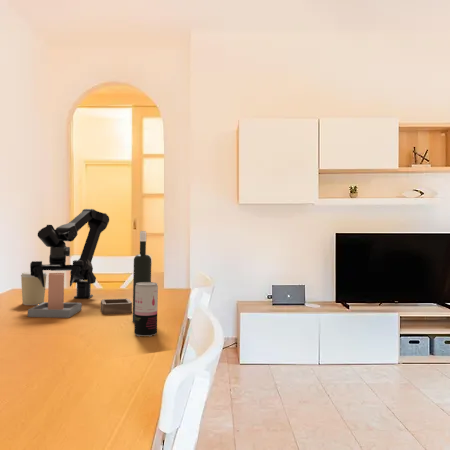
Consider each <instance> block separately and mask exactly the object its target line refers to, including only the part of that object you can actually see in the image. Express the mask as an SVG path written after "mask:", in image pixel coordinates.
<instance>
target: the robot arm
mask: <svg viewBox="0 0 450 450" xmlns="http://www.w3.org/2000/svg"><path fill="white" fill-rule="evenodd" d="M109 222H110V216H109V215H108V214H107V213H106V212H100V211H98V210H96V209H94V208H84V209H82V211H81V212H80V213H79V214H78V215H76V216H75V217H74V218H73V219H71V220H70V221H69V222H68V223H65V224H61V225H60V226H57V227H56V228H55V227H54V226H53V225H52V224H46V226H45V227H42V228H41V229H40V230H38V231H37V237H38V239H39V240H40V241H41V242H42V244H44V245H45V247H48V248H50V249H49V257H48V258H49V259H48V260H49V263H48V264H43V261H42V260H39V261H38V260H37V261H36V260H32V261H31V262H30V265H29V267H30V269H29V270H30V271H29V272H31V275H32V276H34V277H37V278H38V279H39V280H40V282H41V284H42V286H43V287H44V276H43V272H44V271H55V272H61V271H62V272H63V271H64V272H67V271H70V273H69V275H70V279H69V287H72V285H73V284H76V295H75V296H73V299H90V298H92V297H93V296H94V295H93V294H91V290H92V289H91V286H92V285H93V284H95V283H96V280H97V277H96V275H95V274H94V271H93V269H94V268H93V264H92V262H93V261H92V260H93V258H94V254H95V251H96V248H97V246H98V243H99V239H100V236H101V234H102V233H103V231H105V230H106V229H107V227H108V225H109ZM86 224H87V225H88V228H89V229H88V230H89V231H88V235H87V237H86V239H85V243H84V245H83V248H82V252H81V254H80V256H79V258H78V260H77V259H75V260H72V264H67V263H66V262H67V257H70V256H71V246H67V244H66V242H73V241H74V240H75V239H76V238H77V236H78V232H79V231H80V230H81V229H82V228H83V227H84V226H85V225H86ZM91 284H92V285H91Z"/></svg>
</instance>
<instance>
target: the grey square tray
mask: <svg viewBox="0 0 450 450" xmlns="http://www.w3.org/2000/svg"><path fill="white" fill-rule="evenodd" d="M82 305H83V304H82V302H64V309H48V301H47V302H46V301H44V302H43V303H41V304H39V305H33V307H31V308H28V309H27V318H65V319H66V318H67V319H68V318H71V317H73V316H74V315H76V314H77V313H79V312H80V311H82V308H83V307H82Z"/></svg>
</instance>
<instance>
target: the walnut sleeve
mask: <svg viewBox="0 0 450 450" xmlns="http://www.w3.org/2000/svg"><path fill="white" fill-rule="evenodd" d="M100 311H101V314H103V315H114V314H131V313H133V301H132V300H131V299H130V298H110V299H109V298H104V299H101V300H100Z"/></svg>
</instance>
